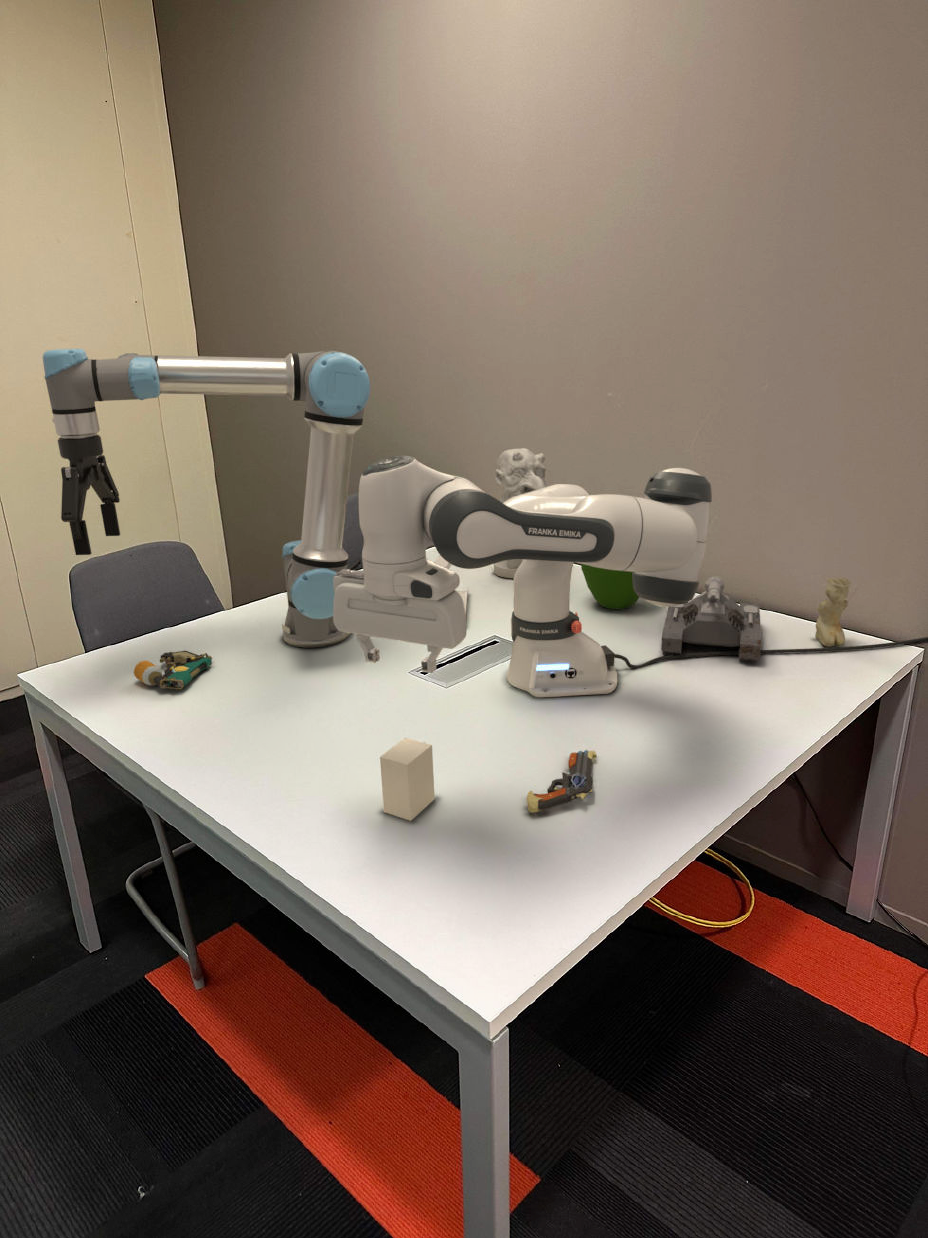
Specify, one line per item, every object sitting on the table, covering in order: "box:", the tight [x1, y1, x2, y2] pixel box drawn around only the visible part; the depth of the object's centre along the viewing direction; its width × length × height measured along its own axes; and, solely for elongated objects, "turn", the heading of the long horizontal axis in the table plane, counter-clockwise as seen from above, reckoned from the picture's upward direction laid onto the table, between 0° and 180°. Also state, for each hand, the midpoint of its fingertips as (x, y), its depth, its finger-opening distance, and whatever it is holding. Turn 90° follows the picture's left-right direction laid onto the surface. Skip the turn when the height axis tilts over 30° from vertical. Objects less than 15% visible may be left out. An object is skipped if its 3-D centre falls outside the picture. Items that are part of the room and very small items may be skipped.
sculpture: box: [814, 576, 852, 648], centre depth 185 cm, size 6×7×15 cm
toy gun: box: [526, 749, 597, 813], centre depth 136 cm, size 3×19×10 cm
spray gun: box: [133, 650, 213, 690], centre depth 180 cm, size 4×17×15 cm
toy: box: [660, 575, 762, 662], centre depth 188 cm, size 25×20×15 cm
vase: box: [580, 563, 641, 610], centre depth 210 cm, size 20×20×24 cm
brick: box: [379, 737, 436, 822], centre depth 131 cm, size 5×7×10 cm
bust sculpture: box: [493, 447, 547, 579], centre depth 231 cm, size 16×24×35 cm
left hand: (99, 544), depth 168 cm, fingers open, 13 cm apart
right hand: (400, 666), depth 124 cm, fingers open, 8 cm apart
